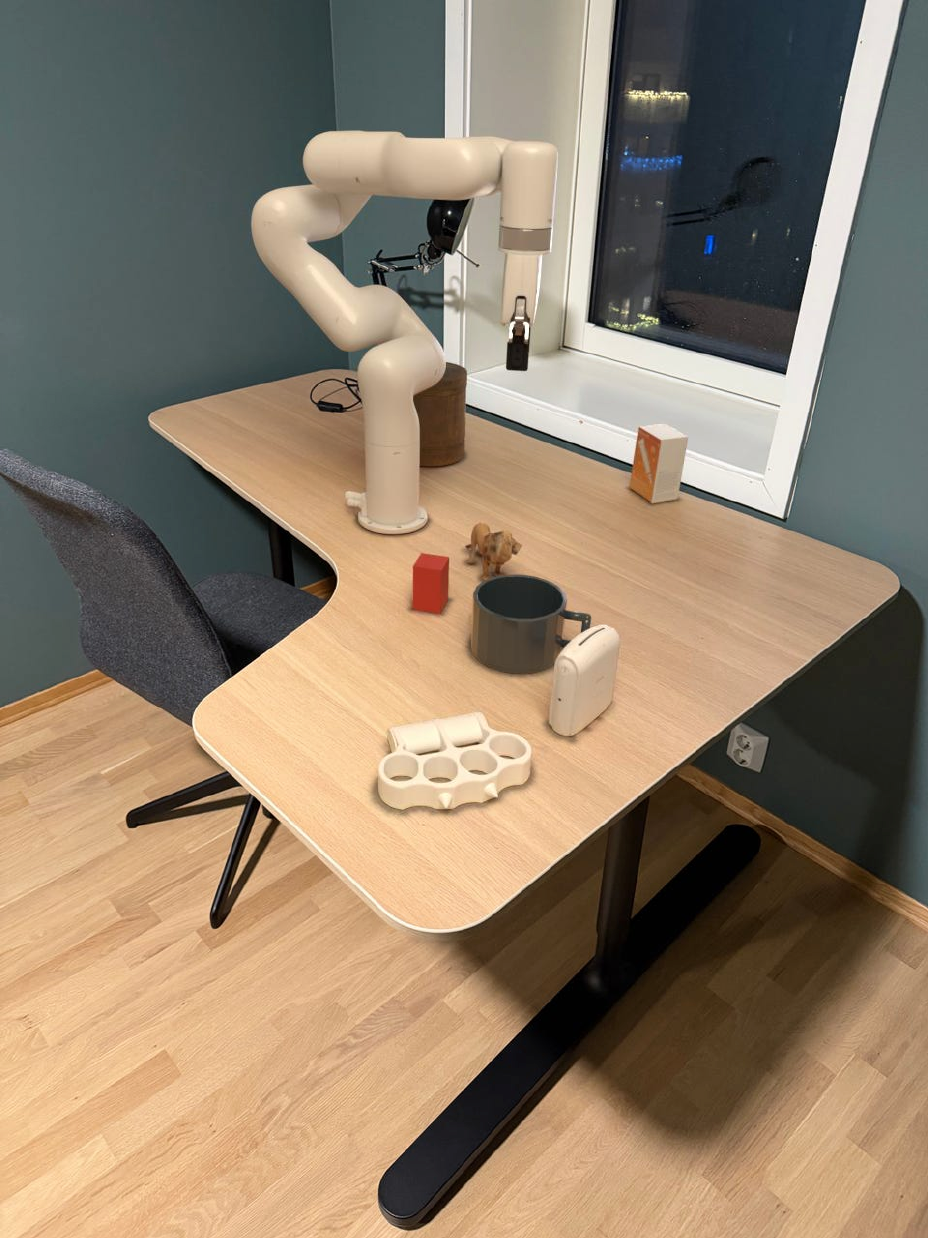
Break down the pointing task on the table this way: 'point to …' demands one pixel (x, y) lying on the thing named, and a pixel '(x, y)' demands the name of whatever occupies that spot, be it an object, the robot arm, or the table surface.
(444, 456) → the wooden container
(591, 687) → the photo printer
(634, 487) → the small box
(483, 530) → the lion figurine
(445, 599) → the red block
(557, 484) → the table surface
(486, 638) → the dark gray mug
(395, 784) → the knuckle duster
